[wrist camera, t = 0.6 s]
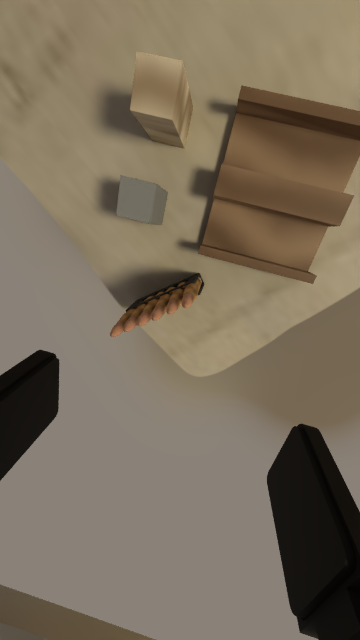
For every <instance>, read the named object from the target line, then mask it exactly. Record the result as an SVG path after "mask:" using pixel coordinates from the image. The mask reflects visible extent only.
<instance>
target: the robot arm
mask: <svg viewBox="0 0 360 640" xmlns="http://www.w3.org/2000/svg"><path fill="white" fill-rule="evenodd" d="M58 400H59V359H57V358H56V355H55V354H54V353H50V352H47V351H43V350H38V351H36V352H35V353H33V354H32V355H30V356H29V357H28V358H26V359H25V360H23V361H21V362H20V363H18V364H17V365H15V366H14V367H12V368H11V369H9V370H8V371H7V372H5V373H4V374H2V375H1V376H0V480H1V479H2V478H3V477H4V476H5V475H6V473H7V472H8V471H9V470H10V469H11V468H12V467H13V465H14V464H15V463H16V462H17V461H18V460H19V459H20V457H21V456H22V455H23V454H24V453H25V452H26V451H27V449H28V448H29V447H30V446H31V445H32V444H33V442H34V441H35V440H36V439H37V438H38V437H39V436H40V434H41V433H42V432H43V431H44V430H45V429H46V428H47V426H48V425H49V424H50V423H51V422H52V420H54V418H55V417H56V415H57V412H58ZM267 485H268V490H269V496H270V501H271V507H272V512H273V517H274V523H275V528H276V533H277V539H278V544H279V550H280V555H281V561H282V566H283V571H284V577H285V582H286V587H287V592H288V598H289V603H290V607H291V610H292V613H293V614H294V615H295V616H297V619H298V625H299V630H300V633H302V634H305V635H308V636H311V637H315V638H317V639H319V640H360V512H359V510H358V508H357V506H356V504H355V502H354V500H353V498H352V496H351V493H350V492H349V489H348V488H347V485H346V483H345V481H344V479H343V477H342V475H341V473H340V471H339V469H338V467H337V465H336V463H335V461H334V459H333V457H332V455H331V453H330V451H329V449H328V447H327V445H326V443H325V441H324V439H323V437H322V435H321V433H320V431H319V430H318V429H317V428H315V427H311V426H308V425H304V424H299V425H298V426H297V427H296V426H294V427H293V428H292V430H291V431H290V434H289V435H288V437H287V439H286V441H285V443H284V444H283V446H282V448H281V450H280V452H279V454H278V455H277V457H276V459H275V461H274V463H273V464H272V466H271V468H270V470H269V472H268V475H267ZM0 640H155V639H152V638H149V637H147V636H144V635H141V634H138V633H135V632H133V631H130V630H127V629H124V628H121V627H119V626H116V625H113V624H110V623H107V622H105V621H102V620H99V619H96V618H93V617H90V616H88V615H85V614H82V613H79V612H77V611H74V610H71V609H68V608H65V607H62V606H60V605H57V604H54V603H51V602H48V601H45V600H43V599H39V598H37V597H34V596H31V595H28V594H26V593H23V592H20V591H17V590H14V589H11V588H8V587H6V586H3V585H0Z"/></svg>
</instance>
